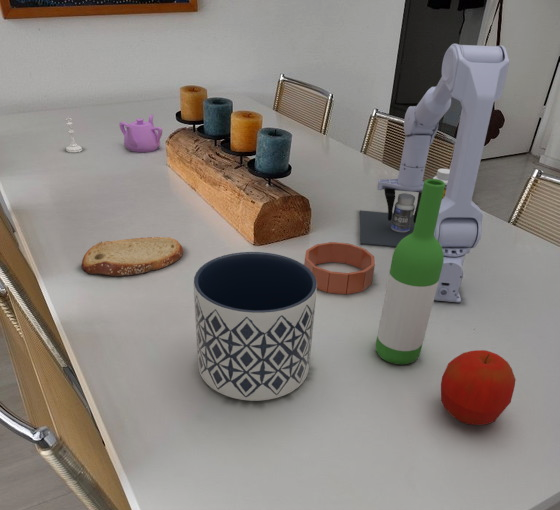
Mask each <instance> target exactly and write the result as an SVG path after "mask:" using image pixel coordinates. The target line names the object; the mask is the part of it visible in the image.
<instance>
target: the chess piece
mask: <svg viewBox="0 0 560 510" xmlns="http://www.w3.org/2000/svg"><path fill="white" fill-rule="evenodd" d="M72 120H73V119H72V118H71V117H70V116H69V115H68V116H67V118H65V121H67V122H66V123H65V125H66V127H67V131H66V132H67V133H69V142H70V144H69V145H68V146H66V148H65V149H66V150H65V151H67V152H68V153H79V152H82V151H83V147H82V146H81V145H78V144H77V143H76V139H75V135H74V133H75V130H74V129H73V126H74V123H73V122H72Z"/></svg>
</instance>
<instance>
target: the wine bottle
mask: <svg viewBox="0 0 560 510" xmlns="http://www.w3.org/2000/svg"><path fill="white" fill-rule="evenodd" d="M444 188H445V183H444V182H443V181H441V180H438V179H433V178H427V179H425V180H424V185H423V190H422V194H421V199H420V204H419V208H418V213H417V217H416V222H415V226H414V230H413V233H412V234H409V235H408V236H406V237H405V238H403V239H402V240H401V241H400V242H399V243H398V245H397V247H394V251H393V253H392V258H391V263H390V266H389V267H390V268H389V272H388V277H387V282H386V287H385V293H384V298H383V303H382V308H381V314H380V319H379V324H378V329H377V336H376V341H375V351H376V353H377V355H378V356H379V357H380V358H381V359H382V360H384V361H386V362H387V363H390V364H394V365H401V366H402V365H409V364H412V363H414V362H415V361H416V360H418V358H419V357H420V355H421V352H422V348H423V344H424V341H425V337H426V333H427V329H428V325H429V322H430V317H431V313H432V309H433V306H434V302H435V300H434V298H435V294H436V290H437V286H438V282H439V277H440V274H441V270H442V266H443V261H444V255H443V250H442V247H441V245H440V243H439V242H438V240H437V239H436V238H435V237H434V232H435V227H436V223H437V219H438V214H439V210H440V205H441V201H442V197H443V192H444Z"/></svg>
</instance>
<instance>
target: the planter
mask: <svg viewBox="0 0 560 510" xmlns="http://www.w3.org/2000/svg"><path fill="white" fill-rule="evenodd" d="M317 290H318V289H317V281H316V278H315V276H314V274H313V273H312V272H311V270H310V269H309V268H307V267H306V266H305V265H304V264H303V263H302V262H300V261H298V260H296V259H294V258H292V257H288V256H285V255H282V254H277V253H271V252H264V251H263V252H261V251H241V252H234V253H228V254H224V255H221V256H217V257H214V258H213V259H210V260H209V261H207V262H206V263H204V264H203V265H201V266H200V267H199V269H198V270H197V271H196V272H195V274H194V277H193V302H194V318H195V333H196V349H197V350H196V351H197V364H198V371H199V374H200V376H201V378H202V380H203V381H204V382H205V384H206V385H208V387H210V388H211V389H212V390H214V391H216V392H217V393H219V394H221V395H223V396H225V397H228V398H232V399H236V400H241V401H252V402H256V401H257V402H258V401H259V402H260V401H261V402H262V401H268V400H273V399H277V398H282V397H283V396H286V395H288V394H290V393H292V392H294V391H295V390H296V389H298V388H299V387H300V386H301V385H302V384H303V383H304V382H305V380H306V379H307V377H308V374H309V370H310V369H309V368H310V362H311V351H312V341H313V332H314V331H313V330H314V323H315V322H314V321H315V312H316V300H317Z"/></svg>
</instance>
